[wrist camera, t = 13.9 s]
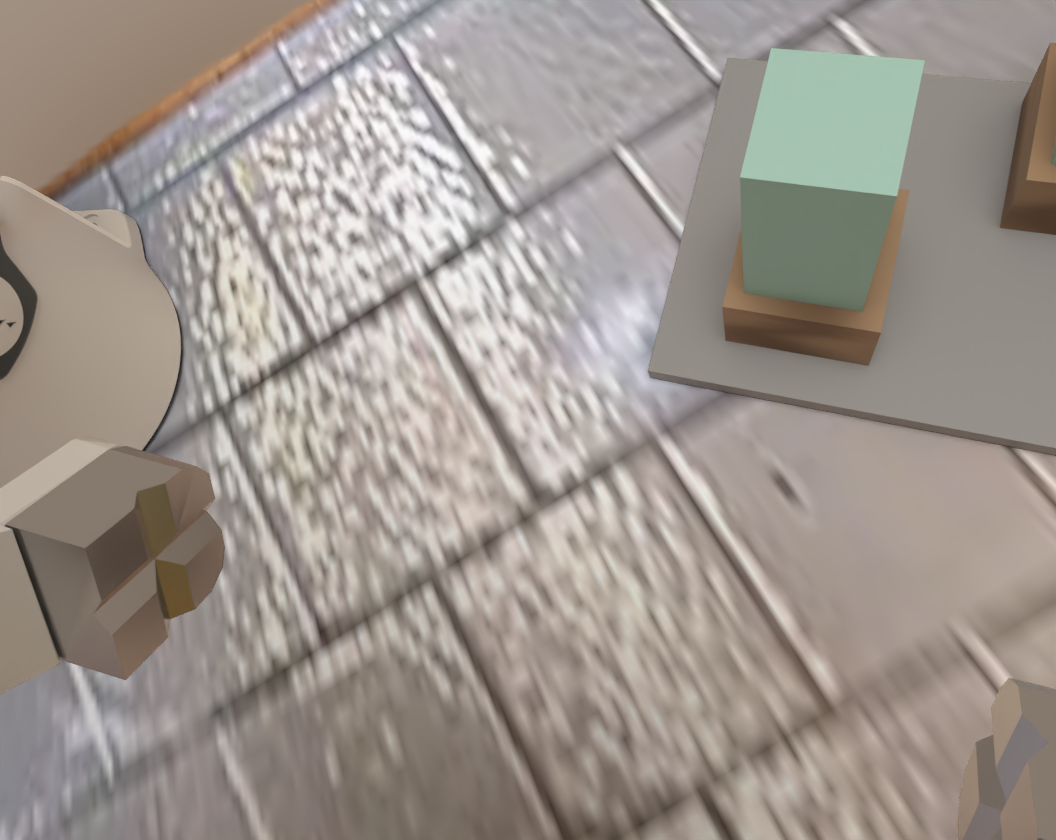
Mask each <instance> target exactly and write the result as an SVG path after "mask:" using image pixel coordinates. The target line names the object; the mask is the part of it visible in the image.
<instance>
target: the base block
mask: <svg viewBox="0 0 1056 840" xmlns="http://www.w3.org/2000/svg"><path fill="white" fill-rule="evenodd" d="M909 192H910V190H904V189H898V194H897V198H896V201H895V205H894V208H893V211H892V214H891V218H890V221H889V224H888V228H887V231H886V234H885V238H884V241H883V244H882V248H881V251H880V254H879V258H878V261H877V264H876V268H875V271H874V274H873V278H872V281H871V284H870V288H869V291H868V294H867V298H866V301H865V304H864V308H863V311H855V310H849V309H843V308H836V307H830V306H824V305H817V304H811V303H805V302H799V301H792V300H786V299H780V298H773V297H767V296H761V295H754V294H748V293H744V286H743V255H742V227H741V231H740V235H739V239H738V244H737V248H736V252H735V256H734V260H733V264H732V268H731V273H730V277H729V281H728V285H727V289H726V293H725V298H724V302H723V306H722V309H723V319H724V330H725V341H730V342H735V343H741V344H747V345H752V346H758V347H764V348H770V349H775V350H781V351H787V352H792V353H798V354H804V355H809V356H815V357H821V358H827V359H832V360H838V361H844V362H849V363H855V364H861V365H866V366H869V363H870V361H871V358H872V355H873V353H874V350H875V347H876V345H877V342H878V339H879V337H880V334H881V330H882V325H883V321H884V316H885V311H886V306H887V301H888V296H889V291H890V286H891V281H892V276H893V271H894V266H895V261H896V256H897V251H898V246H899V242H900V237H901V232H902V227H903V222H904V217H905V212H906V207H907V202H908V197H909Z"/></svg>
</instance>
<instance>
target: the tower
mask: <svg viewBox="0 0 1056 840" xmlns="http://www.w3.org/2000/svg"><path fill="white" fill-rule="evenodd" d="M1000 228H1004V229H1012V230H1019V231H1027V232H1035V233H1043V234H1051V235H1056V43H1050V45H1049V47H1048V49H1047V51H1046V53H1045V55H1044V58H1043V60H1042V62H1041V64H1040V66H1039V68H1038V70H1037V72H1036V75H1035V77H1034V79H1033V81H1032V83H1031V85H1030V87H1029V89H1028V91H1027V94H1026V96H1025V98H1024V100H1023V102H1022V106H1021V112H1020V117H1019V123H1018V128H1017V134H1016V140H1015V145H1014V151H1013V156H1012V162H1011V167H1010V173H1009V179H1008V184H1007V190H1006V195H1005V201H1004V206H1003V212H1002V217H1001V223H1000Z"/></svg>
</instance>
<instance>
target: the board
mask: <svg viewBox="0 0 1056 840" xmlns="http://www.w3.org/2000/svg"><path fill="white" fill-rule="evenodd" d="M767 64H768V61H760V60H748V59H736V58H727V62H726V66H725V70H724V74H723V78H722V81H721V85H720V89H719V93H718V97H717V101H716V105H715V109H714V113H713V117H712V121H711V125H710V129H709V133H708V137H707V141H706V144H705V148H704V152H703V156H702V160H701V164H700V168H699V172H698V176H697V180H696V184H695V188H694V192H693V196H692V200H691V204H690V207H689V211H688V215H687V219H686V223H685V227H684V231H683V235H682V239H681V243H680V247H679V251H678V255H677V259H676V263H675V267H674V271H673V274H672V278H671V282H670V286H669V290H668V294H667V298H666V302H665V306H664V310H663V314H662V318H661V322H660V326H659V330H658V334H657V337H656V341H655V345H654V349H653V353H652V357H651V361H650V365H649V369H648V372H649V375H650V377H651V378H656V379H661V380H666V381H671V382H676V383H682V384H687V385H692V386H697V387H702V388H708V389H713V390H718V391H723V392H729V393H734V394H739V395H744V396H749V397H755V398H760V399H765V400H770V401H775V402H781V403H786V404H791V405H796V406H801V407H807V408H812V409H817V410H822V411H827V412H833V413H838V414H843V415H848V416H853V417H859V418H864V419H869V420H874V421H880V422H885V423H890V424H895V425H900V426H906V427H911V428H916V429H921V430H926V431H932V432H937V433H942V434H947V435H952V436H958V437H963V438H968V439H973V440H978V441H984V442H989V443H994V444H999V445H1005V446H1010V447H1015V448H1020V449H1025V450H1031V451H1036V452H1041V453H1046V454H1051V455H1056V235H1051V234H1043V233H1035V232H1027V231H1019V230H1012V229H1004V228H1000V223H1001V217H1002V212H1003V206H1004V201H1005V195H1006V190H1007V184H1008V179H1009V173H1010V167H1011V162H1012V156H1013V151H1014V145H1015V140H1016V134H1017V128H1018V123H1019V117H1020V112H1021V106H1022V102H1023V100H1024V98H1025V96H1026V94H1027V91H1028V89H1029V87H1030V85H1031V83H1024V82H1012V81H1000V80H988V79H976V78H964V77H952V76H940V75H928V74H922V76H921V81H920V86H919V91H918V96H917V101H916V106H915V111H914V116H913V120H912V125H911V130H910V135H909V140H908V145H907V150H906V155H905V160H904V164H903V169H902V174H901V179H900V184H899V189H904V190H910V192H909V197H908V202H907V207H906V212H905V217H904V222H903V227H902V232H901V237H900V242H899V246H898V251H897V256H896V261H895V266H894V271H893V276H892V281H891V286H890V291H889V296H888V301H887V306H886V311H885V316H884V321H883V325H882V330H881V334H880V337H879V339H878V342H877V345H876V347H875V350H874V353H873V355H872V358H871V361H870V363H869V366H866V365H861V364H855V363H849V362H844V361H838V360H832V359H827V358H821V357H815V356H809V355H804V354H798V353H792V352H787V351H781V350H775V349H770V348H764V347H758V346H752V345H747V344H741V343H735V342H730V341H725V330H724V319H723V309H722V306H723V302H724V298H725V293H726V289H727V285H728V281H729V277H730V273H731V268H732V264H733V260H734V256H735V252H736V248H737V244H738V239H739V235H740V231H741V227H742V225H741V194H740V175H741V171H742V167H743V163H744V159H745V154H746V150H747V146H748V142H749V138H750V134H751V130H752V126H753V121H754V117H755V113H756V109H757V105H758V101H759V97H760V93H761V89H762V84H763V80H764V76H765V72H766V68H767Z"/></svg>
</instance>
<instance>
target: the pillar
mask: <svg viewBox="0 0 1056 840" xmlns="http://www.w3.org/2000/svg"><path fill="white" fill-rule="evenodd" d="M924 62H925V60H914V59H901V58H888V57H876V56H863V55H850V54H837V53H825V52H812V51H799V50H787V49H774V48H771V52H770V56H769V60H768V64H767V68H766V72H765V76H764V80H763V84H762V89H761V93H760V97H759V101H758V105H757V109H756V113H755V117H754V121H753V126H752V130H751V134H750V138H749V142H748V146H747V150H746V154H745V159H744V163H743V167H742V171H741V175H740V194H741V225H742V255H743V286H744V293H748V294H754V295H761V296H767V297H773V298H780V299H786V300H792V301H799V302H805V303H811V304H817V305H824V306H830V307H836V308H843V309H849V310H855V311H863V308H864V304H865V301H866V298H867V294H868V291H869V288H870V284H871V281H872V278H873V274H874V271H875V268H876V264H877V261H878V258H879V254H880V251H881V248H882V244H883V241H884V238H885V234H886V231H887V228H888V224H889V221H890V218H891V214H892V211H893V208H894V205H895V201H896V198H897V194H898V189H899V184H900V179H901V174H902V169H903V164H904V160H905V155H906V150H907V145H908V140H909V135H910V130H911V125H912V120H913V116H914V111H915V106H916V101H917V96H918V91H919V86H920V81H921V76H922V72H923V67H924Z"/></svg>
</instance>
